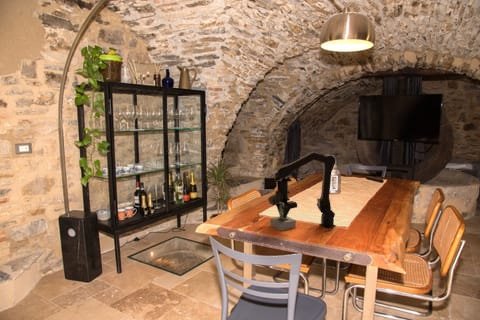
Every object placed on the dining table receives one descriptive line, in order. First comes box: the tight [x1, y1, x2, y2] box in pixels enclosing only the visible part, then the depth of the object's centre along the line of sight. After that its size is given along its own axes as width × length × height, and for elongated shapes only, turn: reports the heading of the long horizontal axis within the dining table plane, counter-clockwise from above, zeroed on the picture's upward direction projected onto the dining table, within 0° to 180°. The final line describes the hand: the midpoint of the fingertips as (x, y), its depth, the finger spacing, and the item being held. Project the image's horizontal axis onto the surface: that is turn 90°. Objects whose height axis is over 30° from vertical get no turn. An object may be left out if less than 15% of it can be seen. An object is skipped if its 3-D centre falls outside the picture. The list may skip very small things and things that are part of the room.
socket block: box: [269, 216, 297, 232], centre depth 178 cm, size 10×10×4 cm
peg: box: [279, 204, 286, 221], centre depth 177 cm, size 4×4×10 cm
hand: (282, 216), depth 178 cm, fingers closed on peg, 4 cm apart
